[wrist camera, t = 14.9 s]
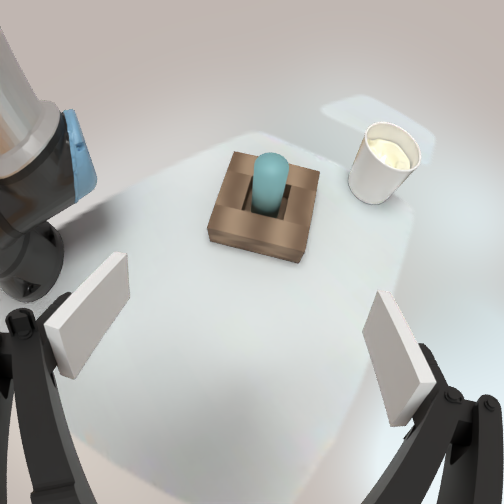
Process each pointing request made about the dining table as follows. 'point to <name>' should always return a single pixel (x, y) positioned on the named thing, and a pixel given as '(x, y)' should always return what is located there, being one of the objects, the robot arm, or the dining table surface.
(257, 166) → the teal peg
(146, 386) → the dining table surface
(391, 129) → the candle holder
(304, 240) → the walnut block
